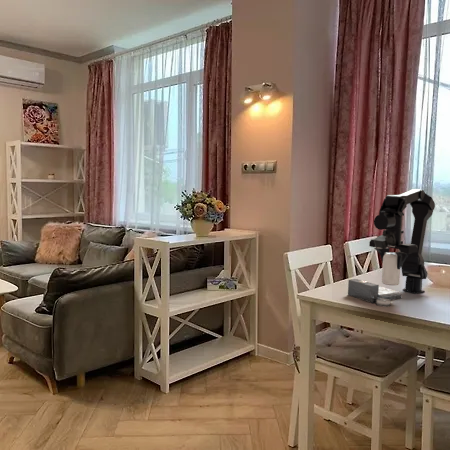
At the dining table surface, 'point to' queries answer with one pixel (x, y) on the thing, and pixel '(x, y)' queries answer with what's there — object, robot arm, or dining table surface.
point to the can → (390, 269)
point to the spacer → (383, 302)
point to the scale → (367, 291)
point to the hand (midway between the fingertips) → (391, 267)
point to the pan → (386, 292)
